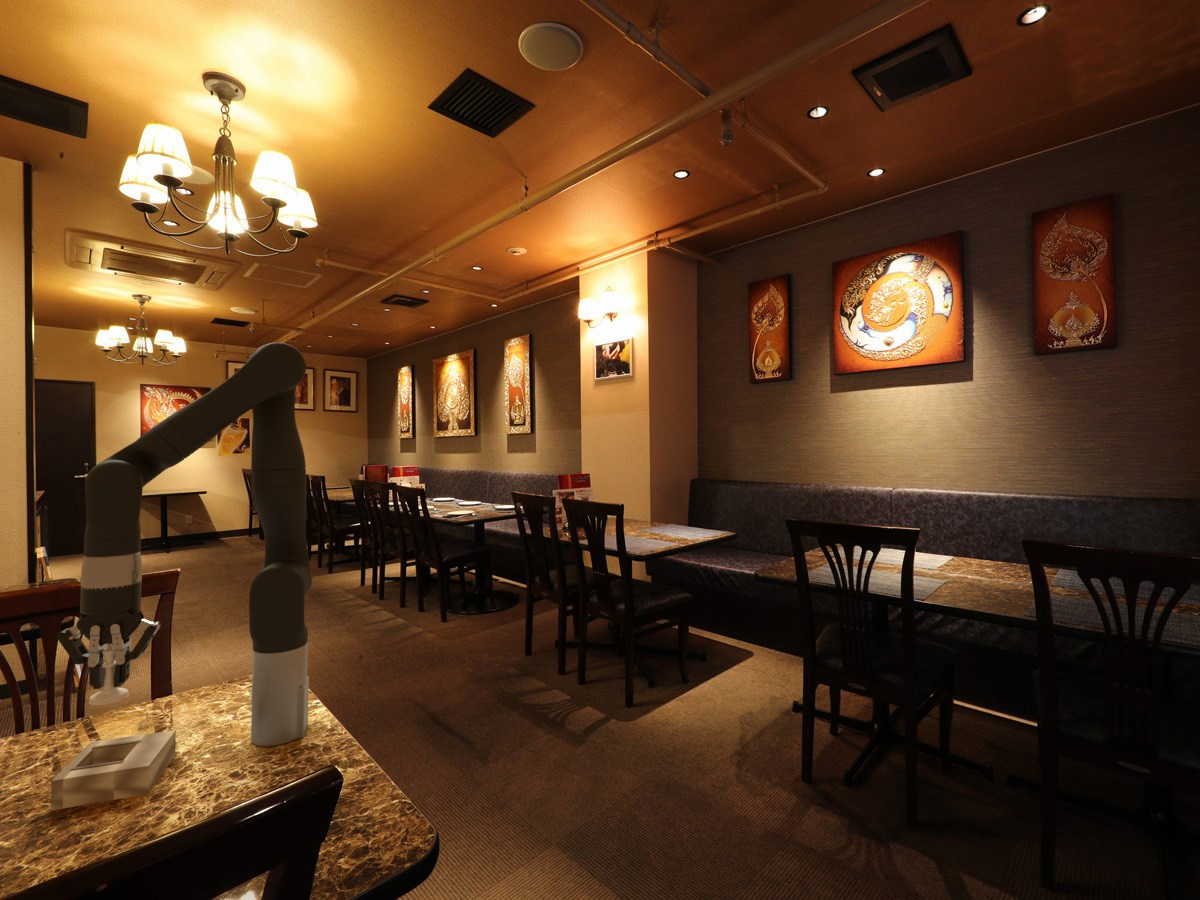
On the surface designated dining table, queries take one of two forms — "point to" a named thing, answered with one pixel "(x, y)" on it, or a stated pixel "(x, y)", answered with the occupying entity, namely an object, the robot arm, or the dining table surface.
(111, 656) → the chess piece
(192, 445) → the robot arm
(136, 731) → the dining table surface
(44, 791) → the dining table surface
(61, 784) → the socket block
